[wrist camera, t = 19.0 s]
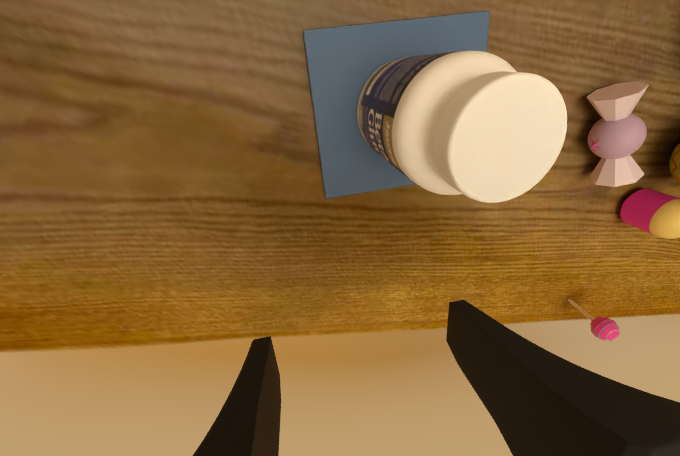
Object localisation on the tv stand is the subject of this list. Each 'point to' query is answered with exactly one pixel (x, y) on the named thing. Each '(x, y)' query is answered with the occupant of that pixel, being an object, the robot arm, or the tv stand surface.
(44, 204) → the tv stand surface
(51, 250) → the tv stand surface
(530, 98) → the pill bottle
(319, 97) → the mat
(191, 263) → the tv stand surface
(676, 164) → the egg
